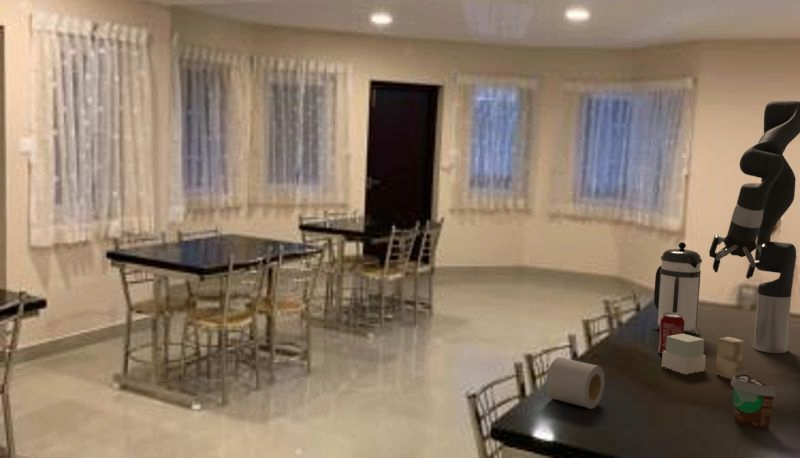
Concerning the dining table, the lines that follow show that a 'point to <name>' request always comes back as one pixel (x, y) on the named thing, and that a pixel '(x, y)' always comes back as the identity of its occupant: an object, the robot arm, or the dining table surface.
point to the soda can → (669, 328)
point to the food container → (752, 401)
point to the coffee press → (678, 285)
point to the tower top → (684, 345)
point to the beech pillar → (729, 357)
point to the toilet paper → (575, 382)
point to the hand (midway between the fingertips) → (731, 274)
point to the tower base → (683, 363)
